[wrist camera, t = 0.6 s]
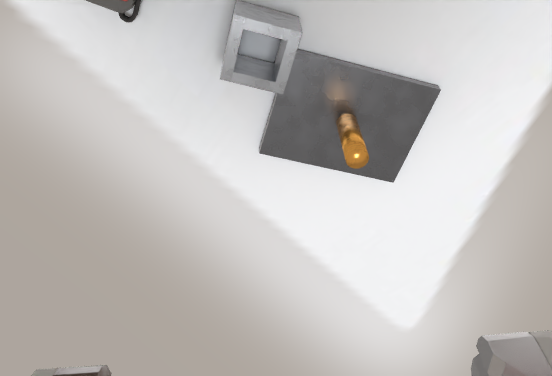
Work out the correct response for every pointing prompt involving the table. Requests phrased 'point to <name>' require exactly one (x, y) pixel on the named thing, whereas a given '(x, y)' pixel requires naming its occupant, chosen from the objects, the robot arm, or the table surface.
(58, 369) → the robot arm
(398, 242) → the table surface
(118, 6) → the walkie-talkie
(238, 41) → the hollow square tube
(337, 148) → the base
